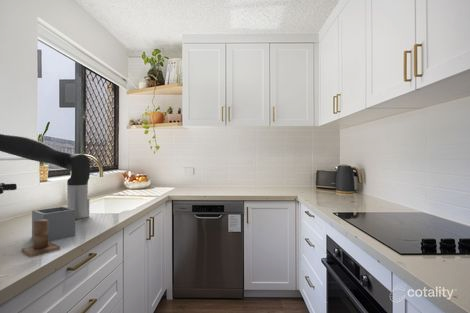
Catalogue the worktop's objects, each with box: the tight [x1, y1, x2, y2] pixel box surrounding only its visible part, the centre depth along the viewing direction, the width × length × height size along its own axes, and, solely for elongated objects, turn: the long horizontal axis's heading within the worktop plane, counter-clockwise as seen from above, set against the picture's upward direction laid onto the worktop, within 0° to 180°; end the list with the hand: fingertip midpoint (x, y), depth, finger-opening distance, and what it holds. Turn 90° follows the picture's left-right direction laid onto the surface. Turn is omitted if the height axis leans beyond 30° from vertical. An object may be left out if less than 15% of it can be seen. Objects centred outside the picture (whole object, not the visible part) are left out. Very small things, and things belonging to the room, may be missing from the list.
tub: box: [31, 206, 76, 242], centre depth 104 cm, size 11×11×10 cm
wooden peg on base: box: [21, 219, 61, 258], centre depth 89 cm, size 8×8×10 cm
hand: (9, 188), depth 90 cm, fingers open, 8 cm apart
